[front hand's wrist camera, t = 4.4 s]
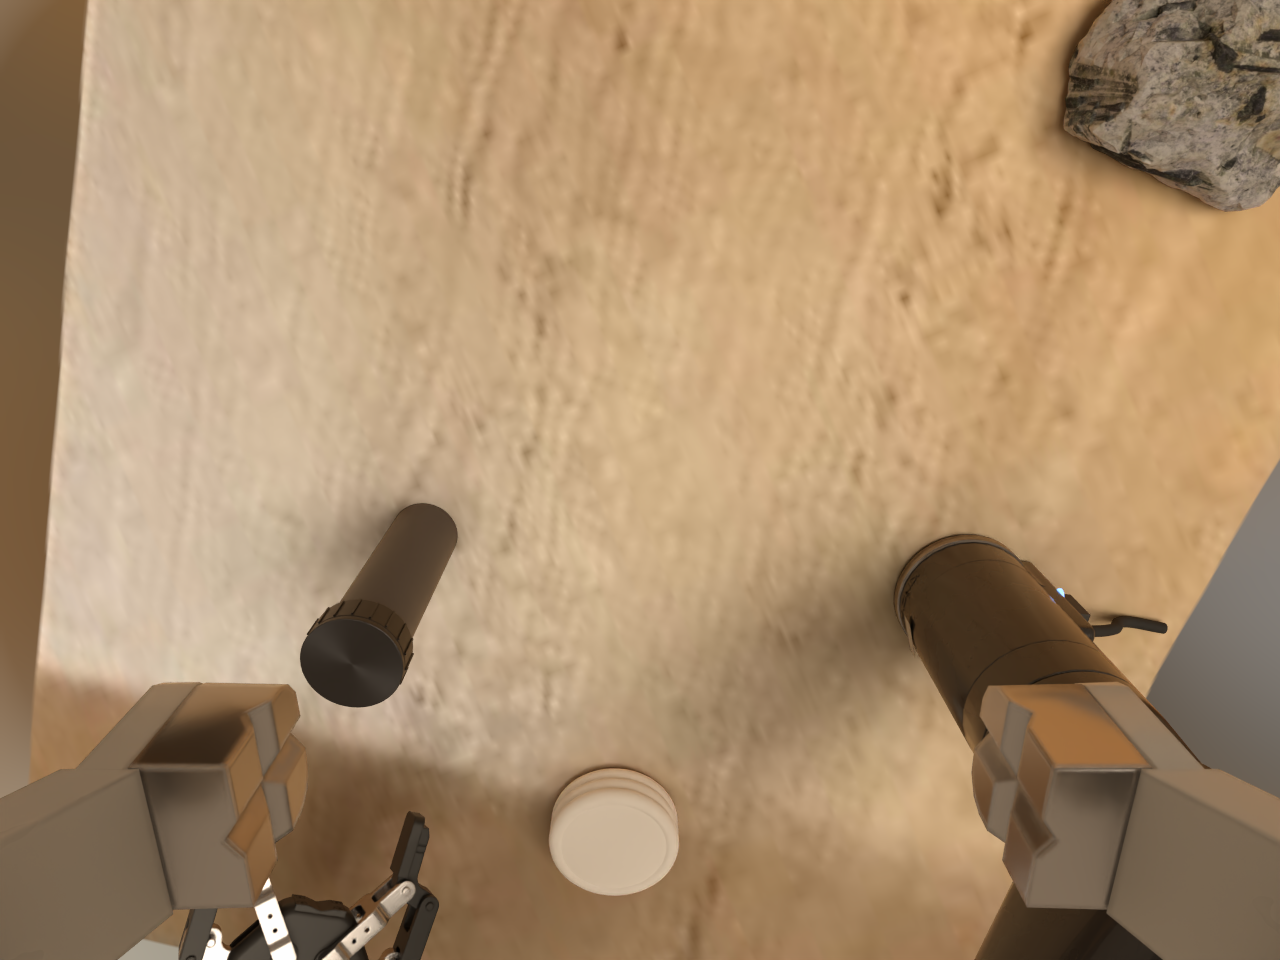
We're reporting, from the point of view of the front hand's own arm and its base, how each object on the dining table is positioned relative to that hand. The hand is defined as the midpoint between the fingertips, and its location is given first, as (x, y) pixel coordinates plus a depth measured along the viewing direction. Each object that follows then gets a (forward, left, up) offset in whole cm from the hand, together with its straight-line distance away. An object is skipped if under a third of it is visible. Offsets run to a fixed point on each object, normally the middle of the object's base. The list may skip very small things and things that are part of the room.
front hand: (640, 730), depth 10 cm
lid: (+19, -15, -32) cm, 40 cm away
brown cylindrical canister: (+19, -15, -48) cm, 54 cm away
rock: (-10, +32, -48) cm, 58 cm away
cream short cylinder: (+43, -2, -48) cm, 65 cm away
